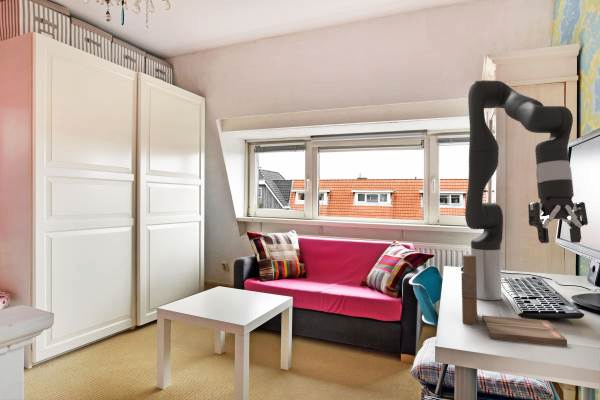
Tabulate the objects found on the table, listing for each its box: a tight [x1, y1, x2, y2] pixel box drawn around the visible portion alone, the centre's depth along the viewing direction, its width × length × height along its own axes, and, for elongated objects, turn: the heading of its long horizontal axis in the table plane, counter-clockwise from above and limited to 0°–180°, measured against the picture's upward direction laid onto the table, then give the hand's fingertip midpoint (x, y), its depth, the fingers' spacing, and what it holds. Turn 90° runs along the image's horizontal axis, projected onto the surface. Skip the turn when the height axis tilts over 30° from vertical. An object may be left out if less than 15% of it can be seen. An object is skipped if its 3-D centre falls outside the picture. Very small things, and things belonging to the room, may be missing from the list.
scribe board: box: [481, 314, 568, 347], centre depth 93 cm, size 14×16×2 cm
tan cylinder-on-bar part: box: [461, 253, 478, 326], centre depth 104 cm, size 4×11×18 cm, turn 153°
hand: (560, 242), depth 91 cm, fingers open, 8 cm apart
